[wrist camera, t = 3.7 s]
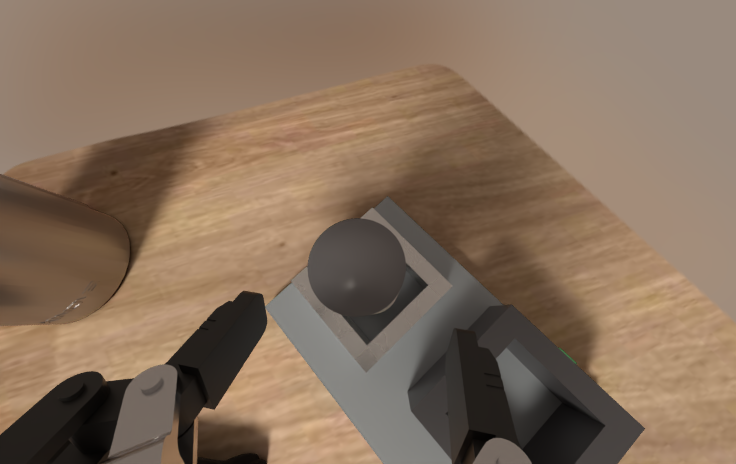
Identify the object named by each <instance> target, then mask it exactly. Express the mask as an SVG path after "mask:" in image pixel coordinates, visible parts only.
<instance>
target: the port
mask: <svg viewBox="0 0 736 464" xmlns="http://www.w3.org/2000/svg"><path fill="white" fill-rule="evenodd" d="M467 330H470V331H474V332H475V333H476V337H477V342H478V347H483V348H488V349H489V350H490V351H491V353H492V354H493V356H494V357H495V359H496V358H497V357H498V356H499V355H500V354H501V353H502V352H503V351H504V350H505V349H506V348H507V349H508V350H509V351H510V352H511V353H512V354H513V355H514V356H515V357H516V358H517V359H518V360H519V361H520V362H521V363H522V364H523V365H524V366H525V367H526V368H527V369H528V370H529V371H530V372H531V373H532V374H533V375H534V376H535V377H536V378H537V379H538V380H540V381H541V382H542V383H543V384H544V385H545V386H546V387H547V388H548V389H549V390H550V391H551V392H552V393H553V394H554V395H555V396H556V397H557V398H558V399H559V400H560V401H561V402H562V403H561V404H560V406H559V407H558V408H557V409H556V410H555V411H554V413H553V414H552V415H551V416H550V417H549V418H548V420H547V421H546V422H545V423H544V424H543V426H542V427H541V428H540V429H539V430H538V431H537V433H536V434H535V435H534V436H533V437H532V438H531V440H530V441H529V442H528V443H527V444H526V445H525V447H524V448H523V449H522V450H523V452H524V453H525V454H526V455H527V457H528V458H529V460H530V461H531V463H532V464H618V462H619V461H620V460H621V459H622V457H623V456H624V455H625V453H626V452H627V451H628V450H629V448H630V447H631V446H632V445H633V443H634V442H635V441H636V439H637V438H638V437H639V436H640V434H641V433H642V432H643V431H644V429H645V428H644V427H643V426H642V425H641V424H640V423H638V422H637V421H636V420H635V419H634V418H633V417H632V416H631V415H630V414H629V413H628V412H627V411H626V410H624V409H623V408H622V407H621V406H620V405H619V404H618V403H617V402H616V401H615V400H614V399H613V398H612V397H610V396H609V395H608V394H607V393H606V392H605V391H604V390H603V389H602V388H601V387H600V386H599V385H598V384H597V383H595V382H594V381H593V380H592V379H591V378H590V377H589V376H588V375H587V374H586V373H585V372H584V371H583V370H581V369H580V368H579V367H578V366H577V365H576V364H577V363H576V362H575V361H574V360H573V359H572V358H571V357H570V356H569V355H568V354H566V353H565V352H564V351H563V350H562V349H561V348H558V347H557V346H556V345H555V344H554V343H552V342H551V341H550V340H549V339H548V338H547V337H546V336H545V335H544V334H543V333H542V332H541V331H540V330H538V329H537V328H536V327H535V326H534V325H533V324H532V323H531V322H530V321H529V320H528V319H527V318H526V317H524V316H523V315H522V314H521V313H520V312H519V311H518V310H517V309H516V308H515V307H514V306H513V305H512V304H511V305H498V306H489V307H488V308H487V310H486V311H485V312H484V313H483V314H482V315H481V316H480V317H479V318H478V319H477V320H476V321H475V322H474V323H473V324H472V325H471V326H470V327H469V328H468V329H467ZM446 354H447V351H446V352H445V353H444V354H443V355H442V357H441V358H440V359H439V360H438V361H437V362H436V363H435V364H434V365H433V366H432V367H431V368H430V369H429V370H428V371H427V372H426V373H425V374H424V375H423V376H422V377H421V378H420V380H419V381H418V382H417V383H416V384H415V385H414V386H413V387H412V388H411V389H410V390H409V391H408V392H407V393H408V398H409V404H410V409H411V412H412V413H413V414H414V416H415V417H416V418H417V419H418V420H419V422H420V423H421V424H422V425H423V426H424V428H425V429H426V430H427V431H428V432H429V434H430V435H431V436H432V437H433V438H434V440H435V441H436V442H437V443H438V444H439V446H440V447H441V448H442V449H443V450H444V452H445V453H446V454H447V455H448V456H449V458H450V459H451V444H450V430H449V416H448V401H447V387H446V373H445V361H446ZM451 460H452V459H451Z"/></svg>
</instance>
